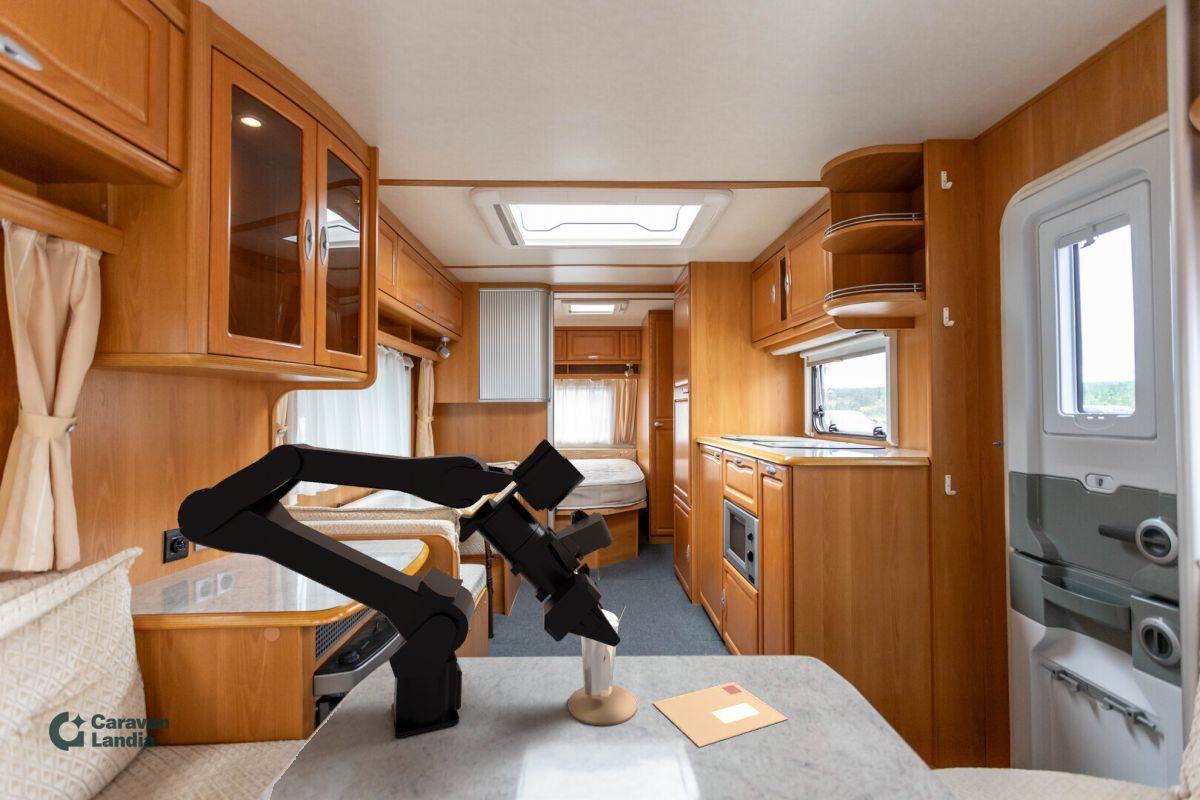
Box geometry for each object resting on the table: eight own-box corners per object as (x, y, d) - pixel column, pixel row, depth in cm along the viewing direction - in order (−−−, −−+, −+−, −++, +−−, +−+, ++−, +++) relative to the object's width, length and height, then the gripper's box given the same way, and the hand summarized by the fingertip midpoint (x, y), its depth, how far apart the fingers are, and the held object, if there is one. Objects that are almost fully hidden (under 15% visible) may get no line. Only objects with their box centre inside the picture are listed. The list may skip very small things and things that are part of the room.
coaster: (585, 732, 53) (585, 728, 53) (558, 696, 60) (558, 692, 60) (650, 715, 56) (650, 711, 56) (617, 682, 64) (617, 679, 64)
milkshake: (622, 705, 56) (624, 613, 56) (575, 700, 57) (577, 609, 57) (625, 684, 60) (627, 599, 61) (581, 680, 61) (583, 596, 62)
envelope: (699, 747, 51) (699, 746, 51) (652, 703, 59) (652, 702, 59) (787, 719, 56) (787, 718, 56) (733, 682, 64) (733, 681, 64)
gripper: (581, 502, 50) (687, 612, 51) (566, 482, 68) (643, 563, 69) (498, 584, 48) (608, 697, 49) (505, 541, 67) (585, 624, 68)
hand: (614, 635), depth 59 cm, fingers closed on milkshake, 4 cm apart
